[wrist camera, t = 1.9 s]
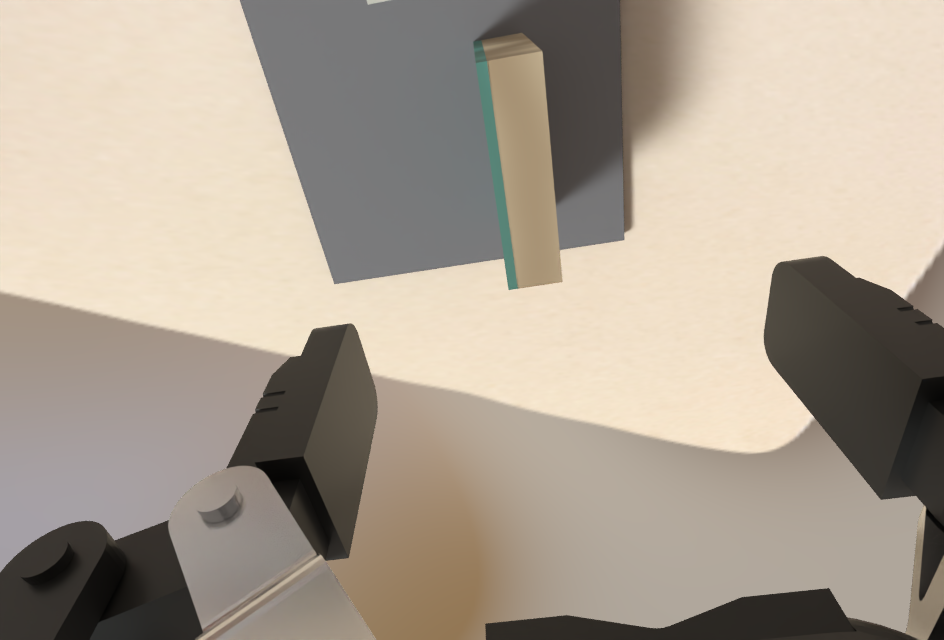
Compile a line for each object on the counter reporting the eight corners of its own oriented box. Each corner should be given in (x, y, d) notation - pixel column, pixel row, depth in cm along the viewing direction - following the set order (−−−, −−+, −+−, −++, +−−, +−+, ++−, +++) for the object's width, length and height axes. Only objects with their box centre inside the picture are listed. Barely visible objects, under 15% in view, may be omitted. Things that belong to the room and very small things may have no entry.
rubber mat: (607, -435, 17) (611, -450, 16) (621, 235, 28) (624, 240, 27) (139, -320, 18) (128, -330, 17) (336, 278, 29) (334, 284, 29)
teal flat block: (522, 32, 23) (542, 51, 17) (540, 214, 27) (562, 282, 21) (473, 41, 23) (475, 62, 17) (499, 221, 27) (508, 289, 21)
